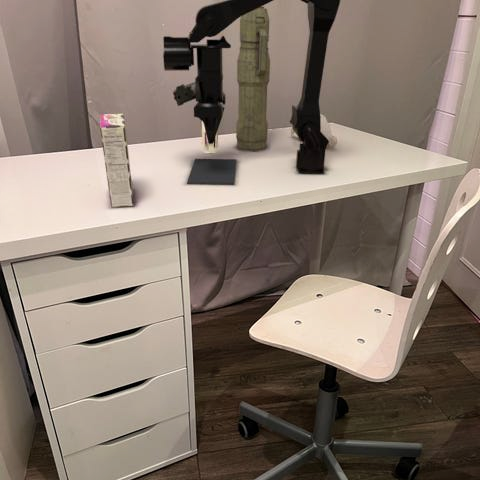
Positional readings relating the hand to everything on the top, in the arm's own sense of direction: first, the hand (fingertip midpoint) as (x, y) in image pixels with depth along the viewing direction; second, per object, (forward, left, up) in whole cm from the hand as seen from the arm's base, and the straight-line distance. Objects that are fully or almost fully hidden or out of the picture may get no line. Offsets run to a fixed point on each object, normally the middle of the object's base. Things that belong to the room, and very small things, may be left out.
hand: (211, 141), depth 125 cm
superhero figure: (-29, -31, -8) cm, 43 cm away
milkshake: (0, 0, -3) cm, 3 cm away
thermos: (-10, -25, -8) cm, 28 cm away
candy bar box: (+18, +21, -8) cm, 29 cm away
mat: (0, 0, -7) cm, 7 cm away
